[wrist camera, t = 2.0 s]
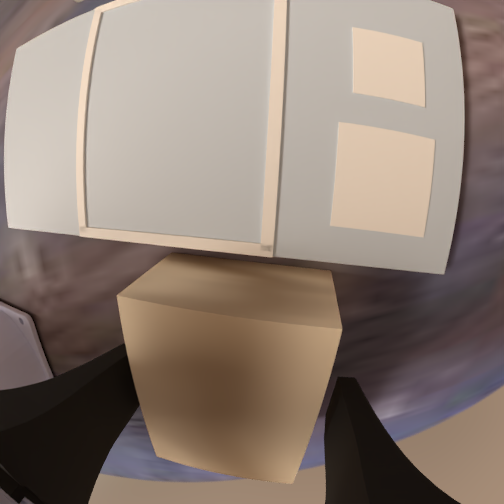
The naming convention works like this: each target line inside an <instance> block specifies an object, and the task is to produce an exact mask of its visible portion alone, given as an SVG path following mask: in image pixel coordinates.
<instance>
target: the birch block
mask: <svg viewBox="0 0 504 504" xmlns="http://www.w3.org/2000/svg"><path fill="white" fill-rule="evenodd" d="M117 301H118V307H119V313H120V319H121V325H122V330H123V335H124V341H125V345H126V350H127V355H128V359H129V364H130V368H131V372H132V376H133V380H134V384H135V388H136V392H137V396H138V399H139V403H140V406H141V410H142V413H143V417H144V420H145V423H146V426H147V429H148V433H149V436H150V439H151V442H152V444H153V447H154V450H155V453H156V456H157V457H160V458H164V459H167V460H170V461H173V462H177V463H180V464H184V465H187V466H191V467H195V468H199V469H203V470H207V471H211V472H216V473H221V474H225V475H231V476H236V477H242V478H248V479H255V480H261V481H269V482H278V483H288V484H292V483H293V481H294V479H295V477H296V474H297V472H298V469H299V467H300V464H301V461H302V459H303V456H304V454H305V451H306V448H307V446H308V443H309V440H310V437H311V434H312V432H313V429H314V426H315V423H316V420H317V417H318V414H319V411H320V408H321V405H322V401H323V398H324V395H325V392H326V388H327V385H328V382H329V378H330V375H331V371H332V368H333V364H334V360H335V356H336V353H337V349H338V345H339V341H340V337H341V333H342V324H341V319H340V313H339V308H338V303H337V298H336V293H335V288H334V283H333V279H332V274H331V270H321V269H312V268H303V267H294V266H285V265H276V264H267V263H258V262H249V261H240V260H232V259H223V258H214V257H206V256H197V255H189V254H180V253H171V254H169V255H168V256H167V257H165V258H164V259H163V260H162V261H160V262H159V263H158V264H156V265H155V266H154V267H152V268H151V269H150V270H148V271H147V272H146V273H145V274H143V275H142V276H141V277H139V278H138V279H137V280H136V281H134V282H133V283H132V284H130V285H129V286H128V287H127V288H125V289H124V290H123V291H122V292H120V293H119V294H118V295H117Z"/></svg>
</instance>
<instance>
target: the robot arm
mask: <svg viewBox="0 0 504 504" xmlns="http://www.w3.org/2000/svg"><path fill="white" fill-rule="evenodd" d="M139 405H140V403H139V399H138V396H137V392H136V388H135V384H134V380H133V376H132V372H131V368H130V364H129V359H128V355H127V350H126V345H125V343H124V344H122V345H120V346H118V347H116V348H114V349H113V350H111V351H109V352H107V353H105V354H103V355H101V356H99V357H97V358H95V359H94V360H92V361H90V362H88V363H86V364H84V365H82V366H79V367H77V368H75V369H73V370H71V371H68V372H66V373H64V374H62V375H59V376H57V377H53V375H52V372H51V370H50V367H49V365H48V362H47V360H46V357H45V355H44V352H43V349H42V346H41V343H40V341H39V338H38V335H37V331H36V328H35V325H34V322H33V319H32V318H31V316H30V315H29V314H27V313H25V312H22V311H20V310H18V309H16V308H13V307H11V306H9V305H7V304H5V303H3V302H1V301H0V504H88V502H89V499H90V496H91V493H92V491H93V488H94V485H95V482H96V480H97V478H98V475H99V473H100V470H101V468H102V466H103V464H104V462H105V460H106V458H107V455H108V453H109V451H110V449H111V448H112V446H113V444H114V443H115V441H116V440H117V438H118V437H119V435H120V434H121V432H122V431H123V429H124V428H125V426H126V425H127V423H128V422H129V420H130V419H131V417H132V416H133V414H134V412H135V411H136V409H137V408H138V406H139ZM324 446H325V469H326V500H325V504H460V503H459V502H457V501H456V500H454V499H453V498H451V497H450V496H448V495H447V494H446V493H444V492H443V491H442V490H440V489H439V488H438V487H436V486H435V485H434V484H433V483H432V482H431V481H430V480H429V479H428V478H426V477H425V476H424V475H423V474H422V473H421V472H420V471H419V470H418V469H417V468H416V467H415V466H414V465H413V464H412V463H411V462H410V460H409V459H408V458H407V457H406V456H405V455H404V454H403V452H402V451H401V450H400V449H399V447H398V446H397V445H396V443H395V442H394V441H393V439H392V438H391V437H390V435H389V434H388V432H387V431H386V429H385V428H384V426H383V425H382V423H381V422H380V420H379V419H378V417H377V415H376V414H375V412H374V411H373V409H372V407H371V405H370V404H369V402H368V400H367V398H366V397H365V395H364V393H363V391H362V389H361V387H360V386H359V384H358V382H357V380H356V379H355V378H348V377H338V378H337V382H336V385H335V388H334V391H333V394H332V397H331V400H330V403H329V406H328V409H327V412H326V418H325V433H324Z"/></svg>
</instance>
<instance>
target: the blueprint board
mask: <svg viewBox="0 0 504 504" xmlns="http://www.w3.org/2000/svg"><path fill="white" fill-rule="evenodd" d="M464 124H465V111H464V84H463V70H462V60H461V51H460V44H459V37H458V31H457V25H456V20H455V15H454V10H453V9H452V8H450V7H447V6H445V5H442V4H439V3H436V2H434V1H431V0H116V1H113V2H110V3H107V4H105V5H102V6H99V7H97V8H95V10H92V11H90V12H87V13H85V14H83V15H80V16H78V17H76V18H73V19H71V20H69V21H67V22H65V23H63V24H61V25H59V26H57V27H55V28H53V29H51V30H49V31H47V32H45V33H43V34H41V35H39V36H38V37H36V38H34V39H32V40H31V41H29V42H27V43H25V44H24V45H22V46H21V47H19V48H17V50H16V55H15V59H14V64H13V69H12V75H11V81H10V87H9V94H8V102H7V112H6V124H5V142H4V179H5V198H6V210H7V220H8V228H16V229H25V230H34V231H43V232H52V233H61V234H70V235H79V236H81V237H89V238H98V239H107V240H116V241H125V242H134V243H143V244H152V245H161V246H171V247H180V248H189V249H198V250H207V251H216V252H226V253H235V254H244V255H253V256H263V257H282V258H291V259H301V260H310V261H320V262H329V263H339V264H348V265H358V266H367V267H377V268H386V269H396V270H406V271H415V272H425V273H435V274H444V272H445V268H446V264H447V260H448V256H449V251H450V247H451V242H452V237H453V232H454V226H455V221H456V215H457V209H458V202H459V194H460V186H461V177H462V166H463V152H464Z"/></svg>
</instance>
